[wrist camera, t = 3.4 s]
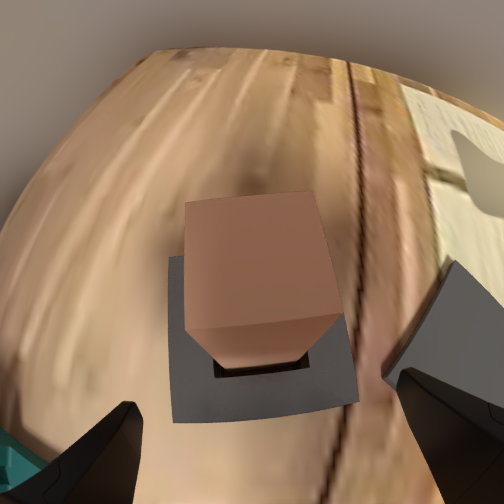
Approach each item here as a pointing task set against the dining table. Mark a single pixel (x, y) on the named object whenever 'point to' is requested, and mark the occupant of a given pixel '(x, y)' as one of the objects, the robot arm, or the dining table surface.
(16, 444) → the bracket
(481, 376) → the mat
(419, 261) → the dining table surface
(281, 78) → the dining table surface
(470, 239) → the dining table surface
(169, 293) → the socket block
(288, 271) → the peg
